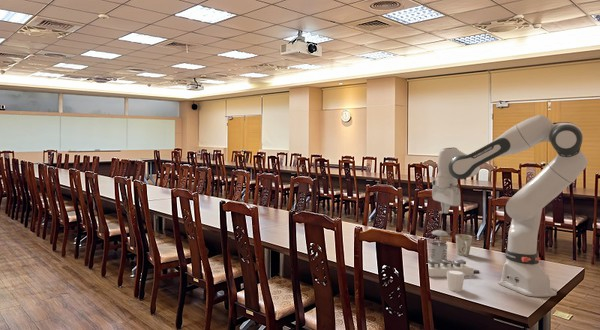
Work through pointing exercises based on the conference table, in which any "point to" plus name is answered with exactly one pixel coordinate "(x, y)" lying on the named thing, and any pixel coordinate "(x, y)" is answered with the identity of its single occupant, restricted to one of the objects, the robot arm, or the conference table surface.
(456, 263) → the rocker
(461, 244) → the mug
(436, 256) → the french press
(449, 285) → the shot glass
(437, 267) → the rocker switch panel
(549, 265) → the conference table surface
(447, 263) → the plate
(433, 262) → the block
